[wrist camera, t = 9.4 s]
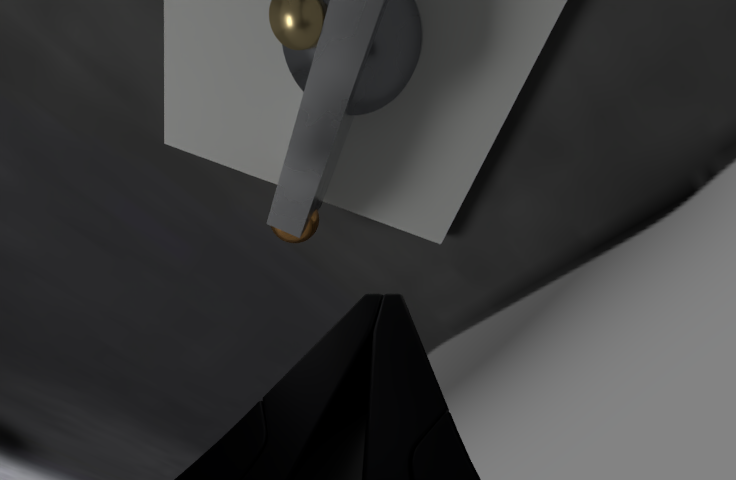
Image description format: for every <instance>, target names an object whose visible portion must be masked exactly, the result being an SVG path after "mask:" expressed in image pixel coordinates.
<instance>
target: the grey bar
mask: <svg viewBox="0 0 736 480" xmlns="http://www.w3.org/2000/svg"><path fill="white" fill-rule="evenodd" d="M269 21H270V26H271V29H272V31H273V33H274V35H275V36H276V38H277V39H278V40H279V42H280V43H282V47H283V53H284V56H285V60H286V63H287V65H288V68H289V70H290V72H291V74H292V76H293V78H294V80H295V81H296V83H297V84H298V86H299V87H300V88H301V90H302V91H303V92H304V93H303V97H302V100H301V104H300V107H299V111H298V114H297V118H296V121H295V125H294V129H293V132H292V136H291V139H290V143H289V146H288V150H287V153H286V157H285V160H284V164H283V167H282V171H281V174H280V178H279V182H278V185H277V189H276V192H275V196H274V199H273V203H272V206H271V210H270V213H269V217H268V220H267V224H268V225H270V226H271V228H272V230H273V232H274V233H275V234H276V236H277V237H279V238H280V239H281V240H283V241H286V242H289V243H300V242H303V241H306V240H308V239H309V238H310V237H312V236H313V234H314V233H315V232H316V230H317V228H318V224H319V214H318V210H319V208H320V207H321V205H322V202H323V200H324V197H325V194H326V192H327V189H328V186H329V184H330V181H331V178H332V176H333V173H334V170H335V167H336V165H337V162H338V159H339V157H340V154H341V151H342V149H343V146H344V143H345V141H346V138H347V135H348V133H349V130H350V127H351V125H352V122H353V119H354V117H355V115H362V114H368V113H371V112H374V111H376V110H378V109H380V108H382V107H384V106H386V105H387V104H389V103H390V102H391V101H392V100H394V99H395V98H396V97H397V96H398V95H399V94H400V92H401V91H402V90H403V89H404V88H405V86H406V85H407V83H408V82H409V80H410V78H411V76H412V75H413V73H414V71H415V69H416V67H417V64H418V62H419V59H420V55H421V51H422V45H423V25H422V19H421V14H420V11H419V8H418V5H417V3H416V1H415V0H271V3H270V7H269Z"/></svg>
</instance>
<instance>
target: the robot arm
mask: <svg viewBox="0 0 736 480" xmlns="http://www.w3.org/2000/svg"><path fill="white" fill-rule="evenodd" d="M175 480H480V477H479V475H478V474H477V472H476V470H475V468H474V466H473V464H472V462H471V460H470V458H469V455H468V453H467V451H466V449H465V446H464V444H463V442H462V440H461V438H460V435H459V433H458V431H457V428H456V426H455V423H454V421H453V419H452V416H451V413H449V409H448V406H447V404H446V402H445V399H444V397H443V394H442V392H441V389H440V387H439V384H438V382H437V380H436V377H435V375H434V372H433V370H432V367H431V365H430V362H429V360H428V357H427V355H426V352H425V350H424V347H423V345H422V342H421V340H420V337H419V335H418V332H417V330H416V328H415V325H414V323H413V320H412V318H411V315H410V313H409V310H408V308H407V305H406V303H405V300H404V298H403V296H402V294H385V295H384V296H383V295H382V294H366V295H364V296H363V297H362V298H361V299H360V300H359V301H358V302H357V303H356V304H355V305H354V306H353V307H352V308H351V309H350V310H349V311H348V312H347V313H346V314H345V315H344V316H343V317H342V318H341V319H340V320H339V321H338V322H337V323H336V324H335V325H334V326H333V327H332V328H331V329H330V330H329V331H328V332H327V334H326V335H325V336H324V337H323V338H322V339H321V340H320V341H319V342H318V343H317V344H316V345H315V346H314V347H313V348H312V349H311V350H310V351H309V352H308V353H307V354H306V355H305V356H304V357H303V358H302V359H301V360H300V361H299V362H298V363H297V364H296V365H295V366H294V367H293V368H292V369H291V370H290V371H289V372H288V373H287V374H286V375H285V376H284V377H283V378H282V379H281V380H280V381H279V382H278V383H277V384H276V385H275V386H274V387H273V388H272V389H271V390H270V391H269V392H268V393H267V394H266V395H265V396H264V397H263V401H259V402H258V403H257V404H256V405H255V406H254V407H253V408H252V409H251V410H250V411H249V412H248V413H247V414H246V415H245V416H244V417H243V418H242V419H241V420H240V421H239V422H238V423H237V424H236V425H235V426H234V427H233V428H232V429H231V430H229V431H228V432H227V433H226V434H225V435H224V436H223V437H222V438H221V439H220V440H219V441H218V442H217V443H216V444H214V445H213V446H212V447H211V448H210V449H209V450H208V451H207V452H205V453H204V454H203V455H202V456H201V457H200V458H199V459H198V460H197V461H195V462H194V463H193V464H192V465H191V466H190V467H189V468H187V469H186V470H185V471H184V472H183V473H182V474H180V475H179V476H178V477H177V478H176V479H175Z"/></svg>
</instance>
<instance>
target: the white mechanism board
mask: <svg viewBox="0 0 736 480" xmlns="http://www.w3.org/2000/svg"><path fill="white" fill-rule="evenodd" d="M415 1H416V3H417V5H418V8H419V11H420V14H421V19H422V25H423V45H422V51H421V55H420V59H419V62H418V64H417V67H416V69H415V71H414V73H413V75H412V76H411V78H410V80H409V82H408V83H407V85H406V86H405V88H404V89H403V90H402V91H401V92H400V94H399V95H398V96H397V97H396V98H395V99H394V100H392V101H391V102H390V103H389V104H387V105H386V106H384V107H382V108H380V109H378V110H376V111H374V112H371V113H368V114H362V115H355V117H354V119H353V122H352V125H351V127H350V130H349V133H348V135H347V138H346V141H345V143H344V146H343V149H342V151H341V154H340V157H339V159H338V162H337V165H336V167H335V170H334V173H333V176H332V178H331V181H330V184H329V186H328V189H327V192H326V194H325V197H324V200H323V202H326V203H329V204H332V205H334V206H337V207H340V208H343V209H345V210H348V211H351V212H354V213H356V214H359V215H362V216H365V217H367V218H370V219H373V220H376V221H378V222H381V223H384V224H387V225H389V226H392V227H395V228H398V229H400V230H403V231H406V232H409V233H411V234H414V235H417V236H419V237H422V238H425V239H428V240H430V241H433V242H436V243H439V244H441V243H442V241H443V239H444V237H445V235H446V233H447V231H448V230H449V228H450V226H451V224H452V222H453V220H454V218H455V216H456V214H457V212H458V210H459V208H460V206H461V204H462V202H463V201H464V199H465V197H466V195H467V193H468V191H469V189H470V187H471V185H472V183H473V181H474V179H475V177H476V175H477V174H478V172H479V170H480V168H481V166H482V164H483V162H484V160H485V158H486V156H487V154H488V152H489V150H490V148H491V146H492V145H493V143H494V141H495V139H496V137H497V135H498V133H499V131H500V129H501V127H502V125H503V123H504V121H505V119H506V117H507V116H508V114H509V112H510V110H511V108H512V106H513V104H514V102H515V100H516V98H517V96H518V94H519V92H520V90H521V88H522V87H523V85H524V83H525V81H526V79H527V77H528V75H529V73H530V71H531V69H532V67H533V65H534V63H535V61H536V59H537V58H538V56H539V54H540V52H541V50H542V48H543V46H544V44H545V42H546V40H547V38H548V36H549V34H550V32H551V31H552V29H553V27H554V25H555V23H556V21H557V19H558V17H559V15H560V13H561V11H562V9H563V7H564V5H565V3H566V2H567V0H415ZM270 3H271V0H164V144H167V145H170V146H173V147H175V148H178V149H181V150H184V151H186V152H189V153H192V154H195V155H197V156H200V157H203V158H206V159H208V160H211V161H214V162H217V163H219V164H222V165H225V166H228V167H230V168H233V169H236V170H238V171H241V172H244V173H247V174H249V175H252V176H255V177H258V178H260V179H263V180H266V181H269V182H271V183H274V184H277V185H278V182H279V178H280V174H281V171H282V167H283V164H284V160H285V157H286V153H287V150H288V146H289V143H290V139H291V136H292V132H293V129H294V125H295V121H296V118H297V114H298V111H299V107H300V104H301V100H302V97H303V93H304V92H303V91H302V90H301V88H300V87H299V86H298V84H297V83H296V81H295V80H294V78H293V76H292V74H291V72H290V70H289V68H288V65H287V63H286V60H285V56H284V53H283V47H282V43H280V42H279V40H278V39H277V38H276V36H275V35H274V33H273V31H272V29H271V26H270V21H269V7H270Z"/></svg>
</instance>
